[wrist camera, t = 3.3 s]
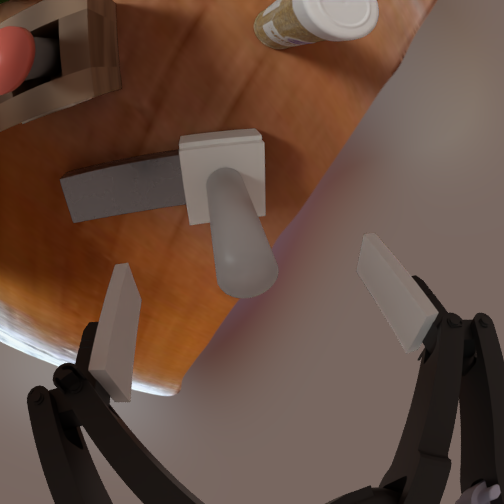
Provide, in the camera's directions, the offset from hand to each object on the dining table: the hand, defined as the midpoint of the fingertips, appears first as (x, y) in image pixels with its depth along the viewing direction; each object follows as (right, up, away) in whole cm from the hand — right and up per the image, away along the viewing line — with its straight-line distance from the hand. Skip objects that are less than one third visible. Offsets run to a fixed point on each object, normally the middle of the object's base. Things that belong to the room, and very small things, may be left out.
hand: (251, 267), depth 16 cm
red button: (-16, +16, -1) cm, 22 cm away
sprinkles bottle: (+2, +21, +5) cm, 22 cm away
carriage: (-3, +9, +12) cm, 16 cm away
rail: (-9, +8, +12) cm, 17 cm away
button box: (-16, +19, +3) cm, 25 cm away
